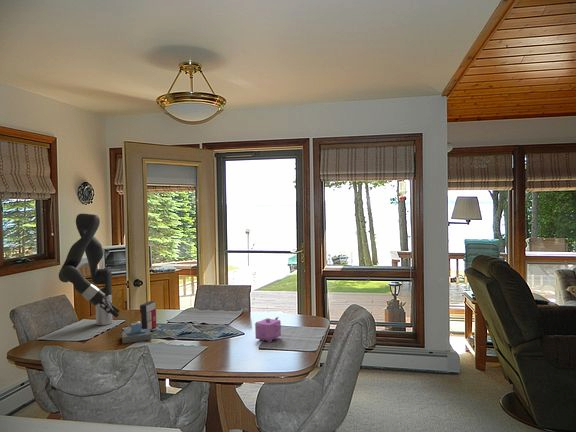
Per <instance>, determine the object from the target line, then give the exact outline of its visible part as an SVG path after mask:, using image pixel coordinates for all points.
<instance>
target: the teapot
mask: <svg viewBox="0 0 576 432" xmlns="http://www.w3.org/2000/svg"><path fill="white" fill-rule="evenodd" d="M279 317H280V316H277V317H275V318H274V319H273V318H269V317H268V318H267V317H266V318H264V319H262V320H260V321H256V322H255V324H254V327H255V334H254V335H255V340H259V341H260V342H263V341H267V343H272V342H273V340H275V341H276V340H278V337H279V338H280V337H281V336H282V331H281V329H282V326H281V325H282V324H281V323H282V322H281V319H279Z"/></svg>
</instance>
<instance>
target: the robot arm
mask: <svg viewBox="0 0 576 432" xmlns="http://www.w3.org/2000/svg"><path fill="white" fill-rule="evenodd" d="M100 220H101V219H100V217H99V215H97V214H92V213H91V214H90V213H79V214H77V215H76V217H75V225H76V230H77V231H78V234H79V237H80V238H79V239H78V240H76V242H74V243H73V244H72V246H71V247H70V248H69V251H68V252H67V255H66V257H65V258H66V259H65V261H64V262H63V264H62V265H61V266H62V267H61V268H60V270H59V272H58V279H59V281H61V282H62V283H69V282H70V283H71V284H72V285H73V289H74V290H75V291H76V292H78V293H79V294H80V295H82V296H83V298H84V299H86V300H87V301H88V302H89V303H91V304H92V305H93V306H95V324H96V326H108V325H112V324H113V320H114V319H113V317H114V318H118V317H119V316H120V314H119V312H120V309H118V308H117V307H116V306H115V304H114V303H113V297H112V296H113V295H112V290H113V289H112V278H113V277H112V274H113V273H112V271H111V269H110V268H97V267H98V265H99V263H100V262H101V260H102V259H103V256H104V250H103V247H102V243H101V242H100V240H98V238H96V237H95V234H96V233H97V231H98V229H99V226H100V222H101V221H100ZM84 254H85V257H86V259H87V262H88V266H89V272H90V277H91V281H92V283H91V282H90V281H89V280H88V279H86V278H85V277H84V275H83V274H82V273H81V271H80V270H79V269H77V268H78V266H79V265H80V263H81V261H82V259H83V257H84ZM96 285H104V287H102V288H99V287H98V286H96Z"/></svg>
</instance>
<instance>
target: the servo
mask: <svg viewBox="0 0 576 432" xmlns="http://www.w3.org/2000/svg"><path fill="white" fill-rule="evenodd" d="M141 329H142V322H141V321H139V320H138V321H136V322H131V323H130V330H126V331H127V335H134V334H141V333H145V329H144V330H141Z"/></svg>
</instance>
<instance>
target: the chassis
mask: <svg viewBox="0 0 576 432" xmlns="http://www.w3.org/2000/svg"><path fill="white" fill-rule="evenodd" d="M141 330H144V329H142V328H141ZM127 331H128V330H125V331H124V330H123V331H122V334H121V335H122V337H121V341H122V342H121V343H122V344H127V343H129V344H130V343H135V342H136V343H137V342H145V341H151V340H152V337H151V330H150V329H145V333H141V334H134V335H127Z"/></svg>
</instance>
